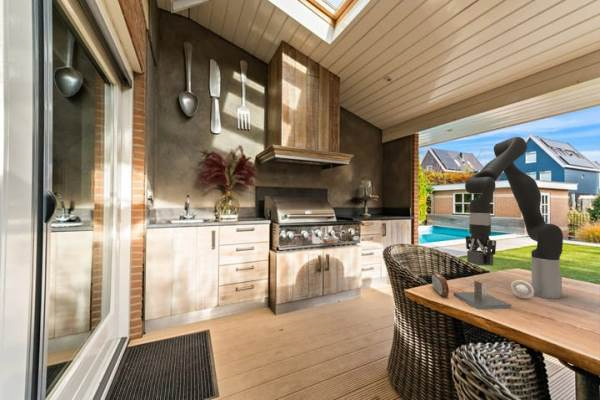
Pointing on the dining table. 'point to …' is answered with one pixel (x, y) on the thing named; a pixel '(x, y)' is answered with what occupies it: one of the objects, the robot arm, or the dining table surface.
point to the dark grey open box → (477, 258)
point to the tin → (440, 284)
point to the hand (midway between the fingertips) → (480, 261)
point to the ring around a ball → (522, 289)
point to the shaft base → (481, 303)
